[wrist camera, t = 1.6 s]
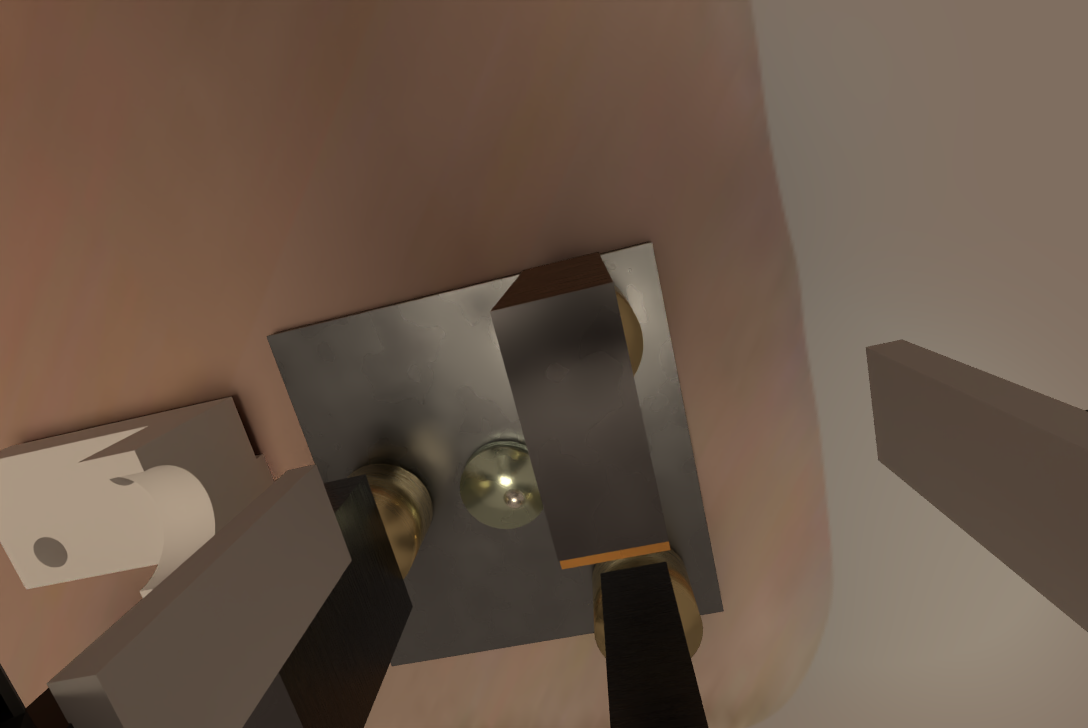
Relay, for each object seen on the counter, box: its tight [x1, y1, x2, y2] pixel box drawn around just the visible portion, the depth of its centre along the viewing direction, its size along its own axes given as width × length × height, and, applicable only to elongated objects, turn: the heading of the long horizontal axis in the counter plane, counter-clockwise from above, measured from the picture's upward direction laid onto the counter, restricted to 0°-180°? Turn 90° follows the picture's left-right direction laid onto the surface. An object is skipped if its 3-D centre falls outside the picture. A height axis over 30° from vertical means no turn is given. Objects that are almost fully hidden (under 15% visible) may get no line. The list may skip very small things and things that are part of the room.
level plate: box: [267, 241, 724, 666], centre depth 29 cm, size 20×19×2 cm
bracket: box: [0, 397, 274, 598], centre depth 28 cm, size 13×7×8 cm, turn 104°
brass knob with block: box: [592, 548, 708, 728], centre depth 24 cm, size 7×5×13 cm
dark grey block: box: [490, 252, 671, 569], centre depth 20 cm, size 7×5×13 cm
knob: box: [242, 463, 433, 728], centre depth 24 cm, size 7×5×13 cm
